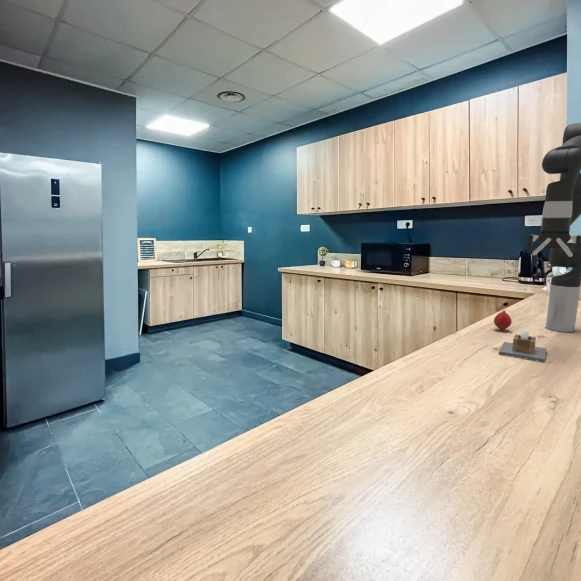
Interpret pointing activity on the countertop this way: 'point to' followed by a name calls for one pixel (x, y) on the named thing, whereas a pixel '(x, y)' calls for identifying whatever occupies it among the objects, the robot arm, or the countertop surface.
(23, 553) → the countertop surface
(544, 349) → the post stand
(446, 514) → the countertop surface
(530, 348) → the ring
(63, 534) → the countertop surface
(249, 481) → the countertop surface
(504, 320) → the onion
